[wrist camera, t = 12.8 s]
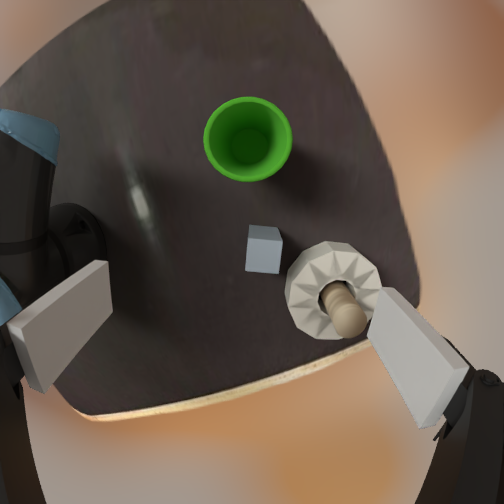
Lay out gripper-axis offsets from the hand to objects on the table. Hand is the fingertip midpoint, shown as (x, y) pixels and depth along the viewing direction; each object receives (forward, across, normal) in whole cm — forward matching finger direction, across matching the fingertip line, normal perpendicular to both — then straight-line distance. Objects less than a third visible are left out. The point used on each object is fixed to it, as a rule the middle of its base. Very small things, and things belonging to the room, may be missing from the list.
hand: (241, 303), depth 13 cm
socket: (+29, +13, -10) cm, 33 cm away
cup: (+29, -1, +9) cm, 30 cm away
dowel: (+29, +13, -10) cm, 33 cm away
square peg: (+29, +2, -4) cm, 29 cm away
